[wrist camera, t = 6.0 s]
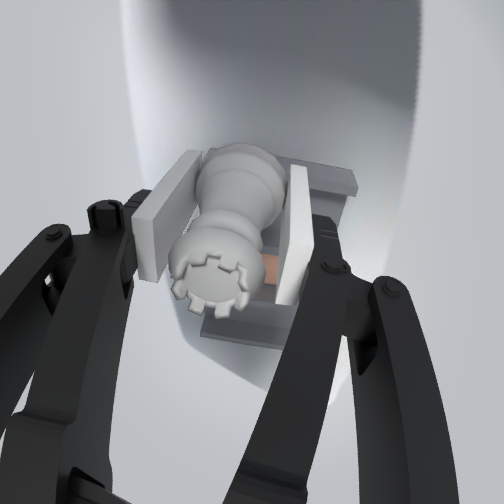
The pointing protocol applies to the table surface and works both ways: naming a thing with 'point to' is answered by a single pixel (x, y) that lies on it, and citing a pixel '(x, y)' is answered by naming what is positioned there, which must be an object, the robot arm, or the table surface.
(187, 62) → the table surface
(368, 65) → the table surface
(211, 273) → the rook chess piece
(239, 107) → the table surface
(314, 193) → the stepped slat stand
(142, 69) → the table surface
